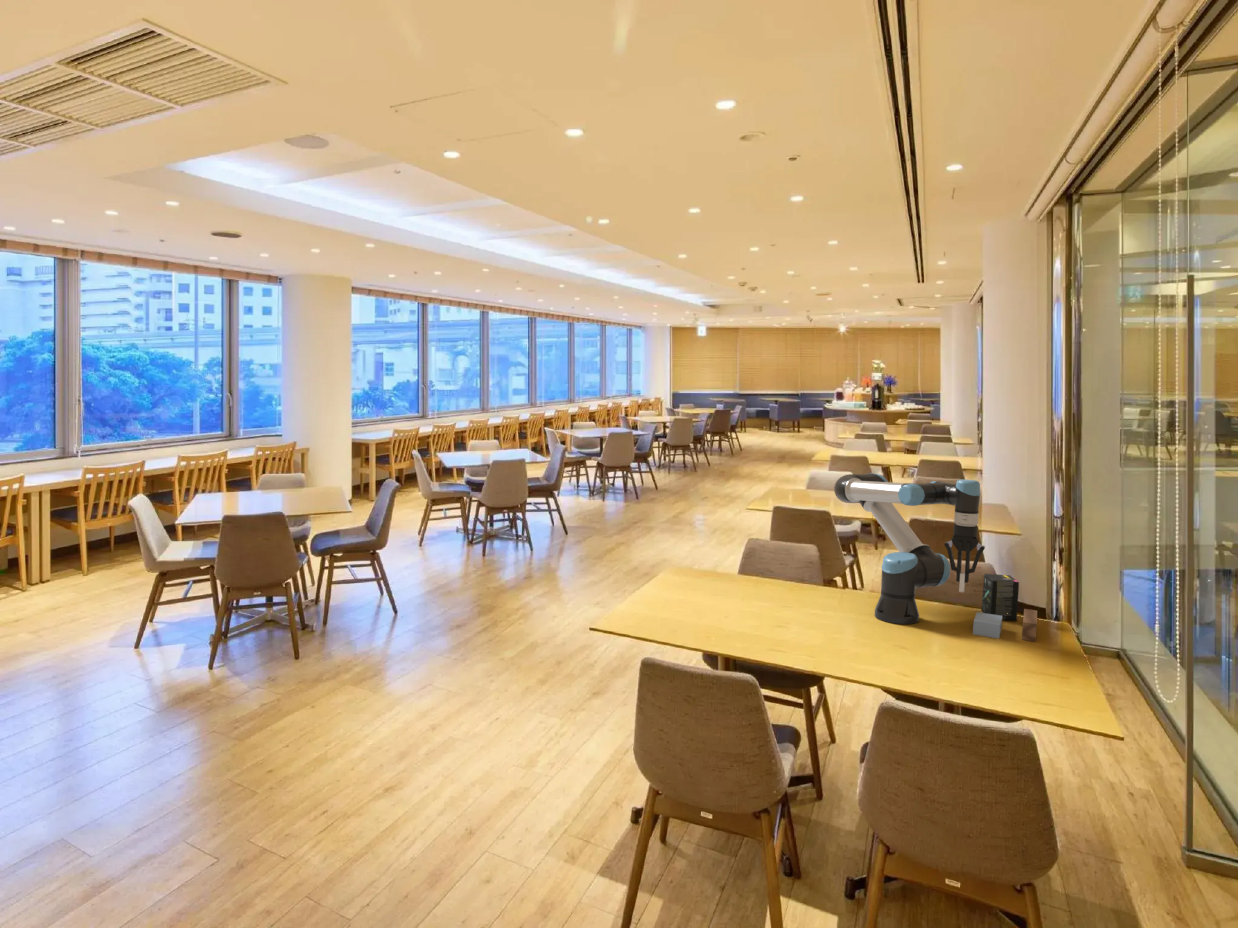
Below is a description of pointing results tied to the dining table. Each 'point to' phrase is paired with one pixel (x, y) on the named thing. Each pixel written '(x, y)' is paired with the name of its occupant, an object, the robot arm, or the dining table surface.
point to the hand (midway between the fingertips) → (961, 591)
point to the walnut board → (1029, 625)
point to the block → (987, 625)
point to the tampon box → (1000, 596)
